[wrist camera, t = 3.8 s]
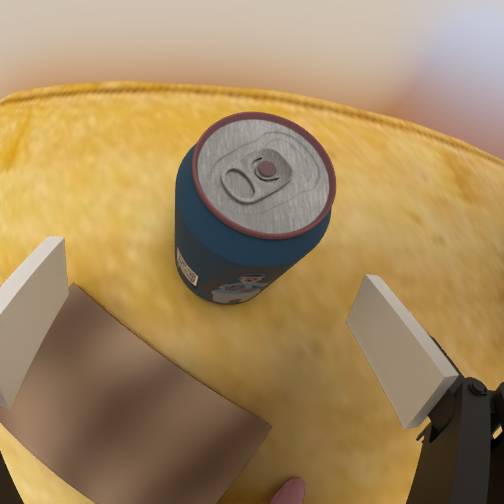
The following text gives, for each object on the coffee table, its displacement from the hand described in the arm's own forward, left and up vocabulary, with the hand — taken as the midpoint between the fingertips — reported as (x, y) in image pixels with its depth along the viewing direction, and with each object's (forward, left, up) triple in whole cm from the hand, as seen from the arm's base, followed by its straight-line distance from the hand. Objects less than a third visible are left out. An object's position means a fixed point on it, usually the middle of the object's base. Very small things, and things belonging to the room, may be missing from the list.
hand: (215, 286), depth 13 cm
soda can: (+1, -4, -9) cm, 10 cm away
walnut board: (0, +10, -9) cm, 13 cm away
